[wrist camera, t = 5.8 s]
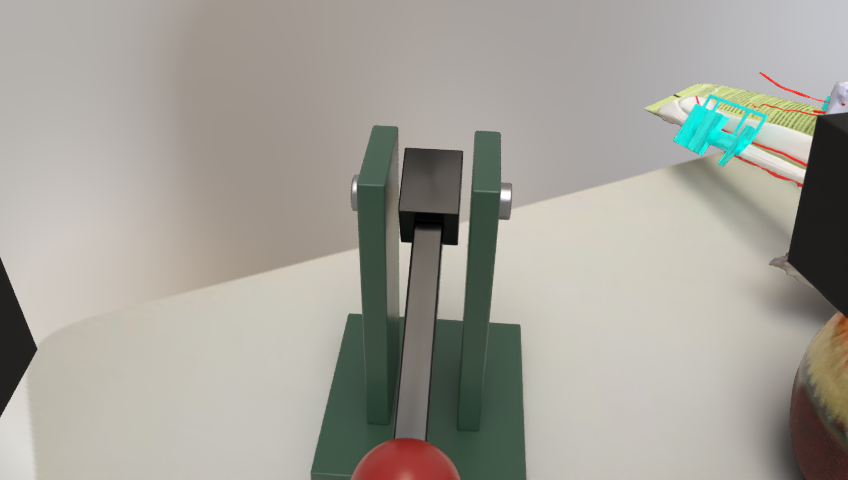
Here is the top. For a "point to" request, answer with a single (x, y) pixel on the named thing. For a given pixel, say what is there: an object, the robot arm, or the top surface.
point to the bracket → (455, 340)
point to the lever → (420, 316)
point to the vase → (822, 404)
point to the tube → (753, 108)
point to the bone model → (748, 132)
